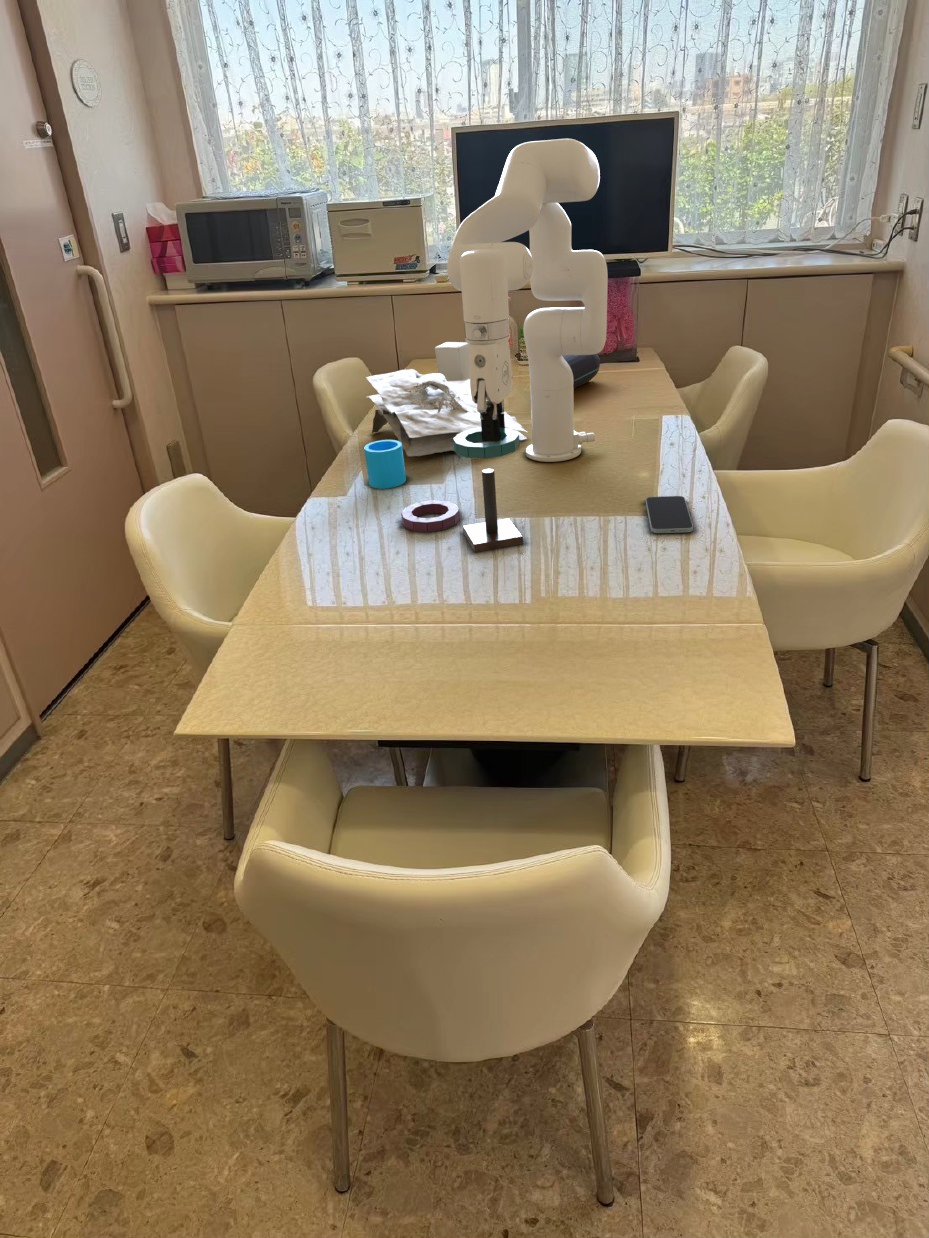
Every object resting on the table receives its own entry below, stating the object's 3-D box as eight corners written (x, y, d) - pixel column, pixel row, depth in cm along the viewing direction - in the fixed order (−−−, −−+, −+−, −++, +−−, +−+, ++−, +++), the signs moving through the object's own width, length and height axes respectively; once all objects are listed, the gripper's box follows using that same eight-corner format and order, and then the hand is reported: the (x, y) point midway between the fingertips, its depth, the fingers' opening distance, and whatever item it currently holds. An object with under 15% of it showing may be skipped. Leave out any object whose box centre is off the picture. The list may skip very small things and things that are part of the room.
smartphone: (651, 529, 147) (644, 497, 160) (651, 534, 148) (644, 501, 160) (694, 528, 146) (684, 495, 159) (693, 533, 146) (684, 500, 159)
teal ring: (509, 434, 148) (509, 424, 147) (525, 453, 139) (524, 441, 138) (449, 443, 147) (448, 432, 146) (461, 462, 138) (460, 450, 137)
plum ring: (453, 506, 166) (452, 496, 165) (464, 526, 157) (463, 517, 156) (399, 514, 165) (398, 504, 164) (406, 535, 156) (405, 525, 155)
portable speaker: (573, 377, 248) (573, 343, 243) (603, 380, 242) (603, 345, 237) (529, 399, 230) (527, 363, 225) (560, 403, 225) (559, 365, 220)
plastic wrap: (534, 410, 195) (408, 421, 183) (525, 472, 204) (405, 485, 193) (476, 357, 220) (362, 364, 208) (470, 414, 229) (361, 423, 218)
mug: (400, 488, 178) (395, 452, 173) (364, 488, 179) (358, 452, 175) (415, 469, 188) (411, 434, 184) (381, 469, 189) (376, 434, 185)
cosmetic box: (476, 398, 236) (472, 342, 228) (463, 404, 231) (459, 347, 224) (451, 396, 240) (447, 340, 232) (439, 402, 236) (433, 346, 228)
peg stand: (509, 525, 156) (505, 459, 149) (523, 544, 148) (519, 475, 142) (463, 533, 154) (457, 466, 148) (474, 552, 147) (469, 483, 140)
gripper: (494, 340, 130) (501, 454, 139) (521, 320, 143) (526, 425, 152) (449, 341, 132) (459, 452, 141) (480, 321, 145) (487, 424, 154)
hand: (493, 437), depth 146 cm, fingers closed on teal ring, 2 cm apart
